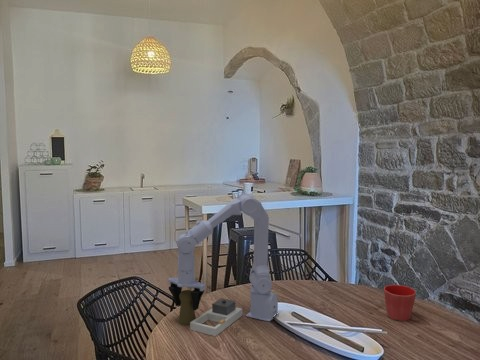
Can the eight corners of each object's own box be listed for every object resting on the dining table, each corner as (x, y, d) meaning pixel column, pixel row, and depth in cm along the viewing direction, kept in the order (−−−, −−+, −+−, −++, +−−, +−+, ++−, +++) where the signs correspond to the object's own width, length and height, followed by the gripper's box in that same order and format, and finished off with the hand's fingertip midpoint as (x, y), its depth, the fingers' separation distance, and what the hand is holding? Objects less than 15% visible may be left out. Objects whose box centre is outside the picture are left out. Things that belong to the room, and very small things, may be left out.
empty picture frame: (242, 315, 148) (242, 298, 148) (215, 336, 133) (215, 317, 132) (219, 310, 153) (218, 293, 152) (190, 329, 137) (189, 311, 137)
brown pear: (193, 326, 140) (192, 295, 139) (176, 324, 141) (175, 293, 140) (198, 318, 146) (197, 288, 145) (182, 317, 147) (181, 287, 146)
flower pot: (419, 315, 146) (420, 289, 146) (408, 325, 139) (408, 298, 138) (390, 307, 154) (391, 282, 153) (377, 316, 146) (378, 290, 145)
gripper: (162, 269, 142) (163, 307, 143) (196, 275, 135) (197, 315, 136) (175, 263, 148) (175, 300, 149) (208, 269, 141) (209, 308, 142)
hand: (186, 307), depth 143 cm, fingers open, 7 cm apart
